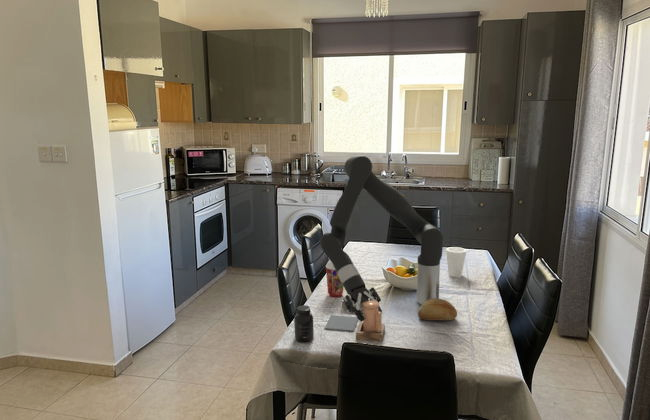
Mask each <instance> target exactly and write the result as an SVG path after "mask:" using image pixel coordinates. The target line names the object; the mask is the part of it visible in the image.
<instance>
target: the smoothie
mask: <svg viewBox="0 0 650 420" xmlns="http://www.w3.org/2000/svg"><path fill="white" fill-rule="evenodd" d="M325 271H326V272H325V273H326V285H327V286H326V287H327V294H328V296H329V297H330V298H335V299H336V298H341V297H342V296H343V295H344V294H343V293H344V289H345V288H344V286H343V284H342V282H341V281H340V278H339V276H338V273H337V271H336V269H335V268H334V266H333V263H332V262H331V261H330V259H329V260H328V262H327V263H326V265H325Z"/></svg>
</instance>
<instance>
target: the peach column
mask: <svg viewBox="0 0 650 420" xmlns="http://www.w3.org/2000/svg"><path fill="white" fill-rule="evenodd" d="M379 306H380V302H379V303H378V302H376V301H371V300H370V301H365V302H363V312H362V314H363V316H364V318H365V320H364V321H362V322H363V330H362V332H372V333H380V331H381V323H382V314H381V312H380V311H378V307H379Z"/></svg>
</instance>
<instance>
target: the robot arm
mask: <svg viewBox="0 0 650 420" xmlns="http://www.w3.org/2000/svg"><path fill="white" fill-rule="evenodd" d="M372 170H373V162H372V160H371V159H370V158H369V157H367V156H366V155H356V156H351V157H349V158H347V160H346V161H345V163H344V172H345V174H346V175H347V177H348V181H347V183H346V186H345V188H344V191H343V192H342V194H341V196H339V199H338V201H337V202H336V204H335V207H334V209H333V211H332V215H331V217H330V220H329V225H330V227H331V229H330V232H325V233H324V234H322V235H321V236H320V239H319V245H320V247H321V250H322V251H323V253H324V254H325V256H326V258H328V259H329V260H330V261H331V262H332V263H333V266H334V268H335V269H336V271H337V273H338V276H339V278H340V281H341V282H342V284H343V286H344V288H343V289H344V290H345V291H346V295H345V296H344V297H343V298H342V301H343V302H345V305H346V307H347V309H348V310H347V311H348V312H349V314H351V313H354V315H355V317H357V318H358V321H359V323H360V322H363V321H364V320H365V318H364V316H363V312H361V311H360V310H359V306H360V305H361V304H362V303H363V302H365V301H370V300H371V301H376V302H378V303H379V304H380V302H381V301H382V298H381V297H380V296H379V295H380V294H378V292H377V290H376V288H375V287H374V286H373V287H371V288H369V289H368V288H366V283H365V281H364V280H363V277H362V276H361V274H360V272H359V270H358V268H357V267H356V266H355V265H354V262H353V260H352V259H351V257H350V256H349V254H348V253H347V252H346V251H344V250H343V247H344V244H345V241H346V234H347V227H348V224H349V222H350V220H351V216H352V214H353V211H354V208H355V205H356V203H357V201H358V199H359V196H360V194H361V192H362V190H365V191H366V192H367V193H368V194H369V195H370V196H371V197H372V198H373V199H374V200H375V201H376V203H378V205H379V206H381V208H382V209H383V210H385V211H386V212H387V214H389V215H390V216H391V217H392V218H393V219H395V220H396V221H397V222H399V223H400V224H402V225H403V226H404V227H406V229H407V230H408V231H409V232H410V233H411V234H412V236H413V237H414V238H415V240H417V242H418V243H419V244H420V254H419V255H418V256H417V269H416V270H417V272H416V274H417V275H416V302H417V303H418V304H420V305H422V304H423V303H424V302H425V301H427V300H429V299H440V273H441V272H440V271H441V270H440V269H441V268H440V267H441V259H442V256H443V247H444V245H443V244H444V237H443V236H444V235H443V233H442V231H441V230H440V229H439V228H437V227H436V226H435V225H433V224H431V223H429V222H428V221H427V220H426V219H424V218H423V217H422V216H421V215H419V214H418V213H417V212H416V210H415V209H414V207H413V205H412V204H411V202H410V201H409V200H408V199H407V198H406V197H405V196H404V195H403V194H402V193H401V192H400V191H399V190H398V189H396V188H395V187H393V186H392V185H390V184H389V183H388V182H385V181H384V180H382V179H380V178H379V176H377V175H376V174H375V173H374V172H373V171H372ZM351 300H352V301H354V302H353V304H352V302H351ZM378 311H380V312H381V315H383V311H382V308H381V306H380V305H379V307H378Z"/></svg>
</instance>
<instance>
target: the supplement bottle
mask: <svg viewBox="0 0 650 420" xmlns="http://www.w3.org/2000/svg"><path fill="white" fill-rule="evenodd" d="M293 321H294V322H293V324H294V339H295V341H296V342H298V343H301V344H307V343H311V342H312V341H313V340H314V338H315V337H314V335H315V334H314V333H315V332H314V315H313V314H311V307H310V306H309V305H305V304H304V305H303V304H302V305H299V306H296V314H295V315H294V317H293Z"/></svg>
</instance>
